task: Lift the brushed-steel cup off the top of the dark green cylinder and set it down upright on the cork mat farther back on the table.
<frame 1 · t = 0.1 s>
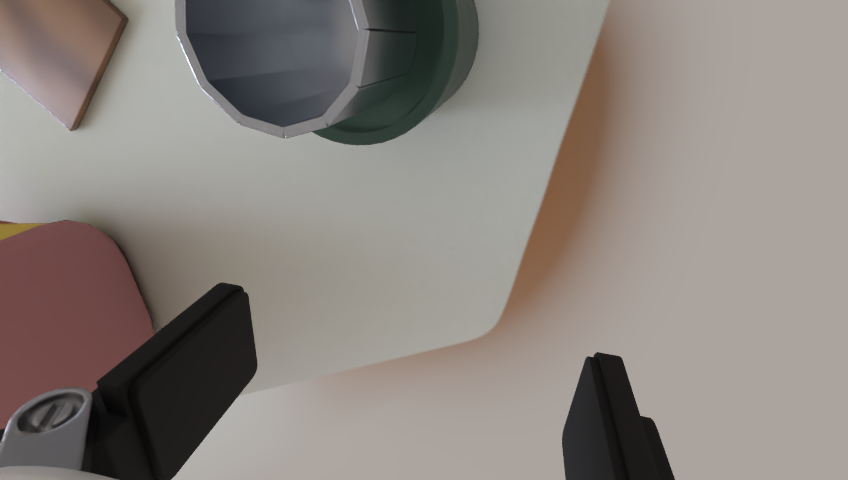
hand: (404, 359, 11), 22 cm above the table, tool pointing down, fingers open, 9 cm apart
dark green cylinder: (401, 35, 29), on the table
alarm clock: (106, 284, 45), on the table
cup: (347, 34, 20), point 10 cm above the table, touching dark green cylinder
coaster mat: (38, 21, 34), on the table
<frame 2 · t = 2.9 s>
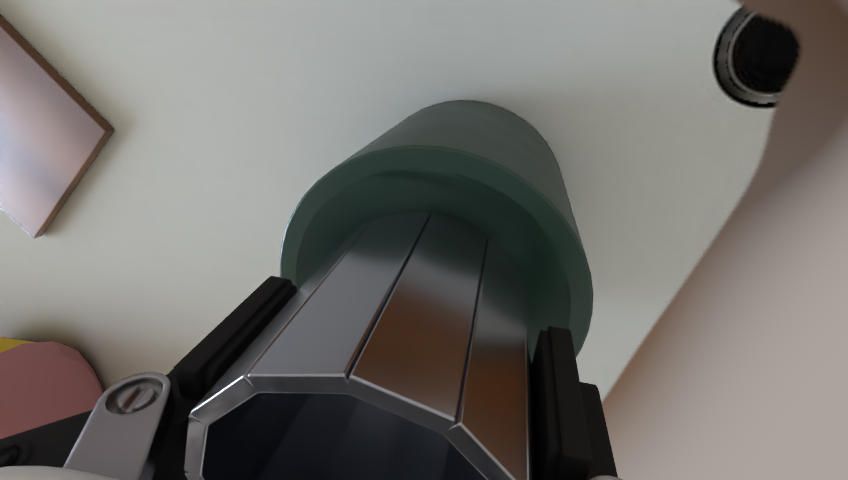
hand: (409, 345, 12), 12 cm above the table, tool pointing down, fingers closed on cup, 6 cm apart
dark green cylinder: (462, 200, 23), on the table
alarm clock: (70, 390, 38), on the table
cup: (425, 303, 14), point 10 cm above the table, touching gripper, dark green cylinder
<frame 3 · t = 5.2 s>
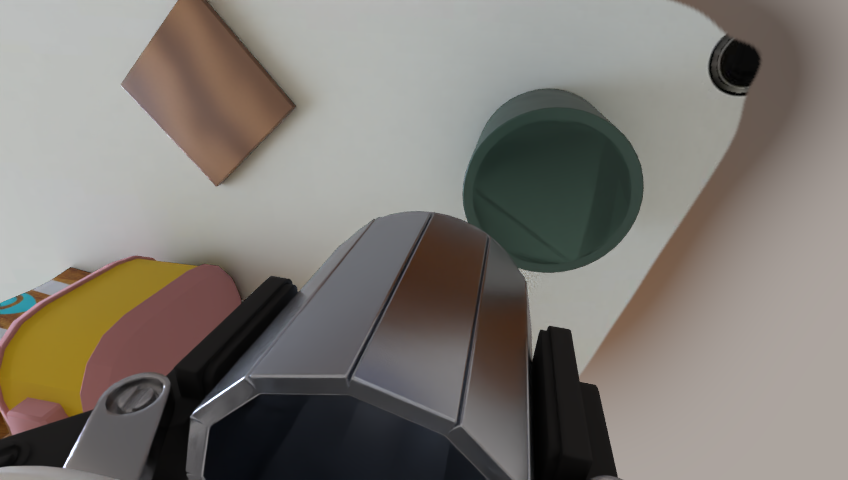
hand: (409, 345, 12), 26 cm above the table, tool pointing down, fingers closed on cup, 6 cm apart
dark green cylinder: (541, 156, 34), on the table
alarm clock: (211, 311, 49), on the table
mug: (82, 314, 54), on the table
cup: (425, 304, 14), point 24 cm above the table, touching gripper
coaster mat: (208, 95, 38), on the table
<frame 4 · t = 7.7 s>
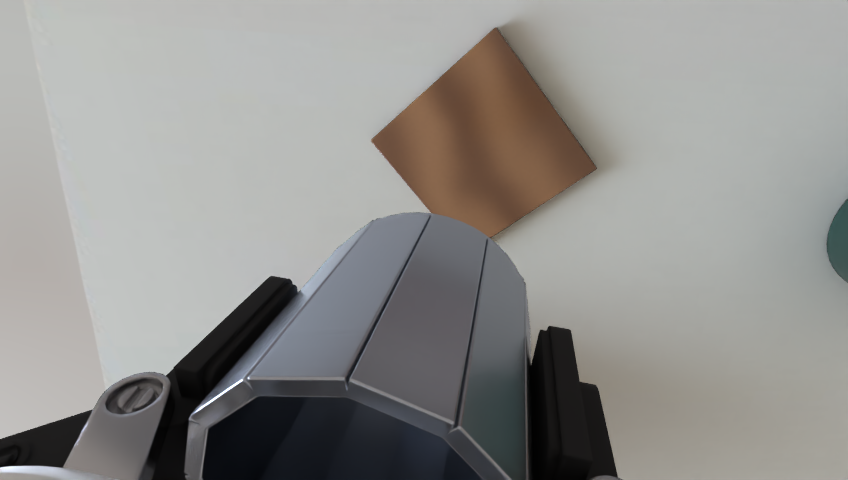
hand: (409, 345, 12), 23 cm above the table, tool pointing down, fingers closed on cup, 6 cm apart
cup: (425, 305, 14), point 21 cm above the table, touching gripper
coaster mat: (479, 152, 32), on the table
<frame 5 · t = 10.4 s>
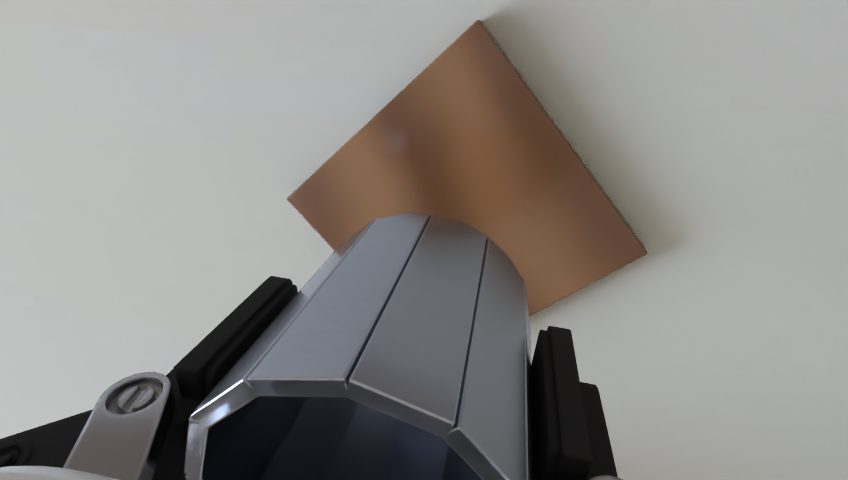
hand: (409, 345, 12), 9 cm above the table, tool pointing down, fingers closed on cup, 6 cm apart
cup: (424, 305, 14), point 7 cm above the table, touching gripper
coaster mat: (456, 219, 20), on the table
when the fingers open (3 cm above the table, at t = 12.5 s): cup stays where it is, resting on coaster mat.
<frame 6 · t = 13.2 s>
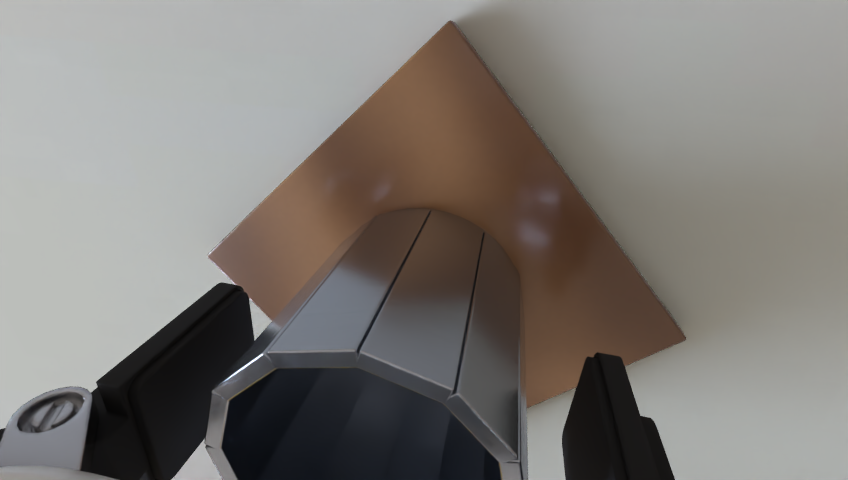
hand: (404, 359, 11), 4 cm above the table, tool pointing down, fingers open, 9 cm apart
cup: (425, 296, 15), point 1 cm above the table, touching coaster mat
coaster mat: (429, 285, 15), on the table
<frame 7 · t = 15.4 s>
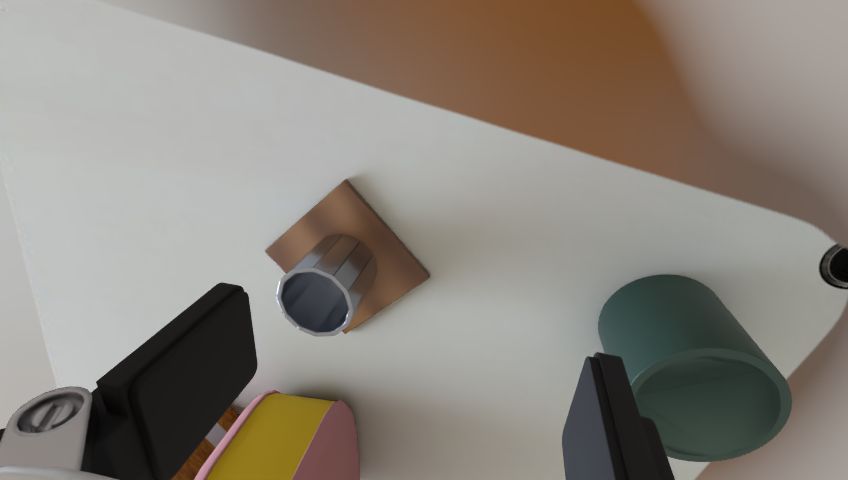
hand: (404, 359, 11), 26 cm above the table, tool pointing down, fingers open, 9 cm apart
dark green cylinder: (659, 324, 38), on the table
alarm clock: (321, 430, 53), on the table
mug: (190, 427, 58), on the table
cup: (344, 264, 41), point 1 cm above the table, touching coaster mat
coaster mat: (346, 261, 42), on the table
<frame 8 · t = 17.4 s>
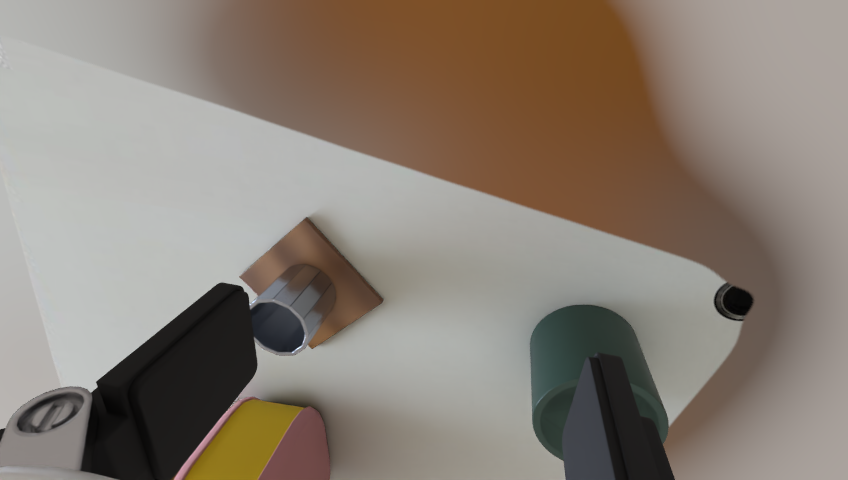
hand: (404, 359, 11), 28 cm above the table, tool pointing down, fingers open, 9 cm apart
dark green cylinder: (582, 347, 43), on the table
alarm clock: (295, 431, 59), on the table
cup: (308, 290, 47), point 1 cm above the table, touching coaster mat
coaster mat: (310, 286, 47), on the table
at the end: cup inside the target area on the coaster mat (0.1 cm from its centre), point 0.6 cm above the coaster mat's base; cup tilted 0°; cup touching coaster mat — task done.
